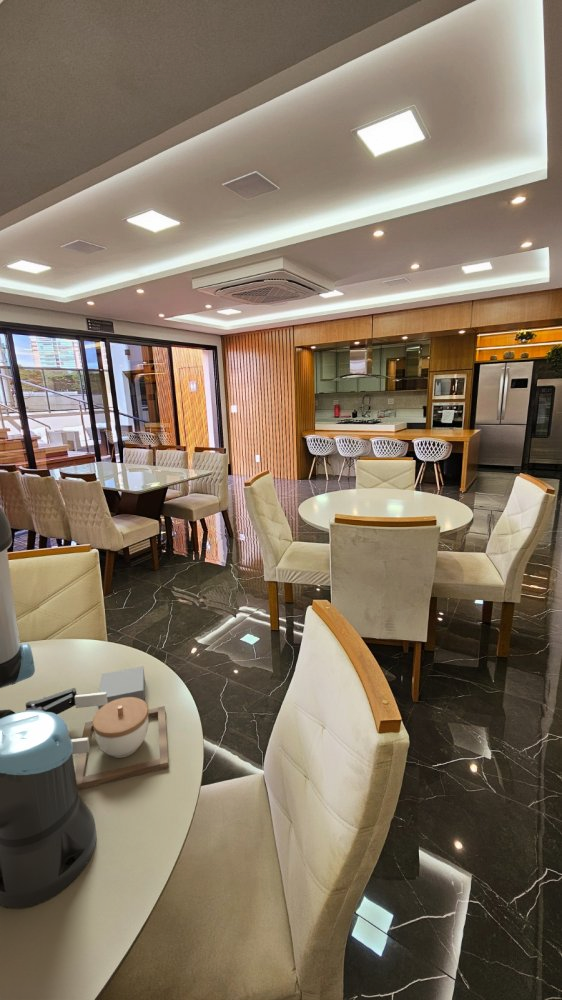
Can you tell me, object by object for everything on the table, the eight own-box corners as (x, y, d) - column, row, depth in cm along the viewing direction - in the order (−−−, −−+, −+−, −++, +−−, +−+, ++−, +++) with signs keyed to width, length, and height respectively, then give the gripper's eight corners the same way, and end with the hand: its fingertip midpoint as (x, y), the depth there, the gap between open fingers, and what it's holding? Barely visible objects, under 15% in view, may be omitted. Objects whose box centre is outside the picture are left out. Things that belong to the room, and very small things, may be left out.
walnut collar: (168, 767, 85) (168, 762, 85) (73, 790, 80) (72, 785, 80) (165, 710, 101) (164, 705, 101) (85, 727, 96) (84, 722, 96)
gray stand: (144, 704, 103) (143, 690, 102) (99, 714, 100) (97, 699, 99) (144, 680, 112) (143, 666, 111) (103, 688, 109) (101, 673, 109)
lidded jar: (129, 773, 84) (124, 731, 82) (84, 759, 87) (79, 719, 85) (161, 733, 94) (157, 695, 92) (120, 723, 97) (115, 686, 95)
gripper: (18, 706, 100) (114, 696, 103) (-47, 802, 76) (81, 786, 78) (13, 677, 98) (111, 668, 101) (-55, 766, 74) (76, 751, 77)
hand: (98, 719), depth 90 cm, fingers open, 13 cm apart
